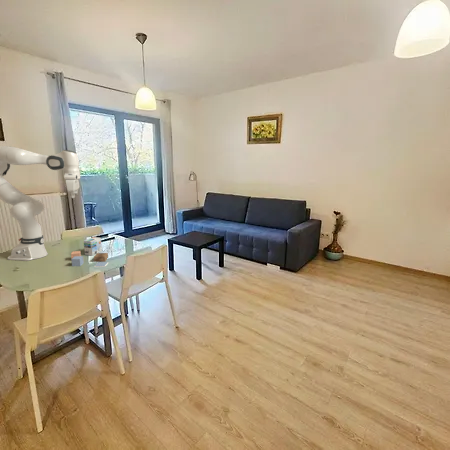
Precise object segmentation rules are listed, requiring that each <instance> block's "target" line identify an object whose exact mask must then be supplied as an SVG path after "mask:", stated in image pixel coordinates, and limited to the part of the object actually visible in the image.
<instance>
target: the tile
mask: <svg viewBox="0 0 450 450" xmlns="http://www.w3.org/2000/svg"><path fill="white" fill-rule="evenodd" d="M108 264H109V261H108V262H107V261H105V262H96V264H95V265H94V266H93V267H94V268H105V267H106V266H107V265H108Z"/></svg>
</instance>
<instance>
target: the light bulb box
mask: <svg viewBox="0 0 450 450" xmlns="http://www.w3.org/2000/svg"><path fill="white" fill-rule="evenodd" d="M83 249H84V255H85V256H92V257H94V256H95V255H96V254H97V253H102V252H103V248H102V238H101V237H95V236H93V237H90V238H87V239H84V240H83Z"/></svg>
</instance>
